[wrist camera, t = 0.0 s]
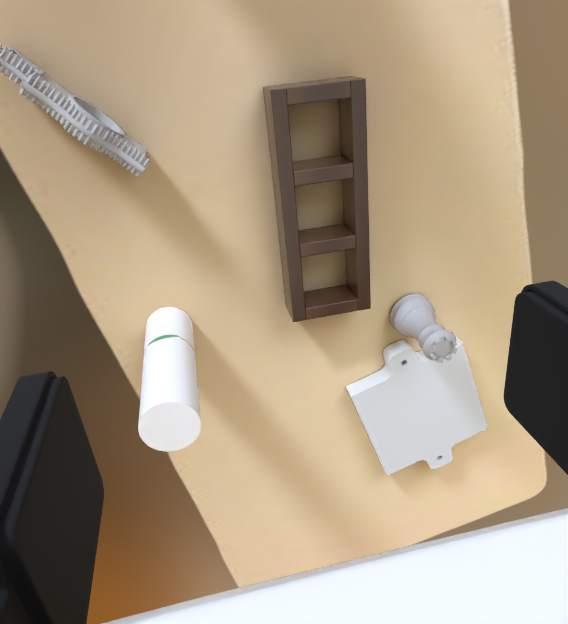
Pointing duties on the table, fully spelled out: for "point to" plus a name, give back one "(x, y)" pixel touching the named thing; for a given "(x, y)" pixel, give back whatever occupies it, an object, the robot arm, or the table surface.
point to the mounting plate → (418, 407)
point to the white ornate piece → (73, 112)
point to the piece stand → (315, 171)
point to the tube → (169, 382)
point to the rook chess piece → (423, 327)
